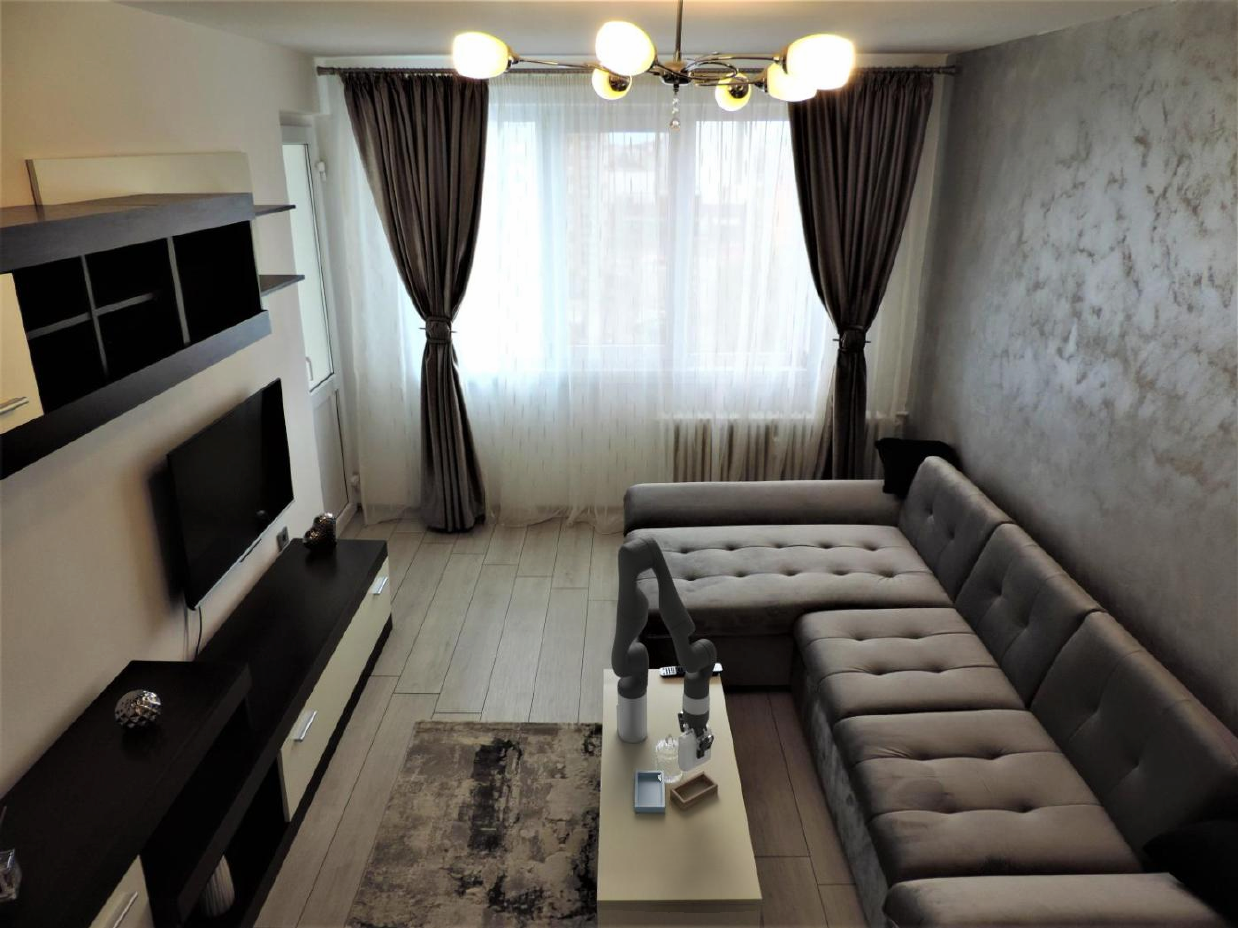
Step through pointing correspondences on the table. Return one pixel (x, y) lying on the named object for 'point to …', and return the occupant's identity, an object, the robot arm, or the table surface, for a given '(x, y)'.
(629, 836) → the table surface
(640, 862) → the table surface
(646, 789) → the slate tray
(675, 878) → the table surface
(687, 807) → the brown wooden tray
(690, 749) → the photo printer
